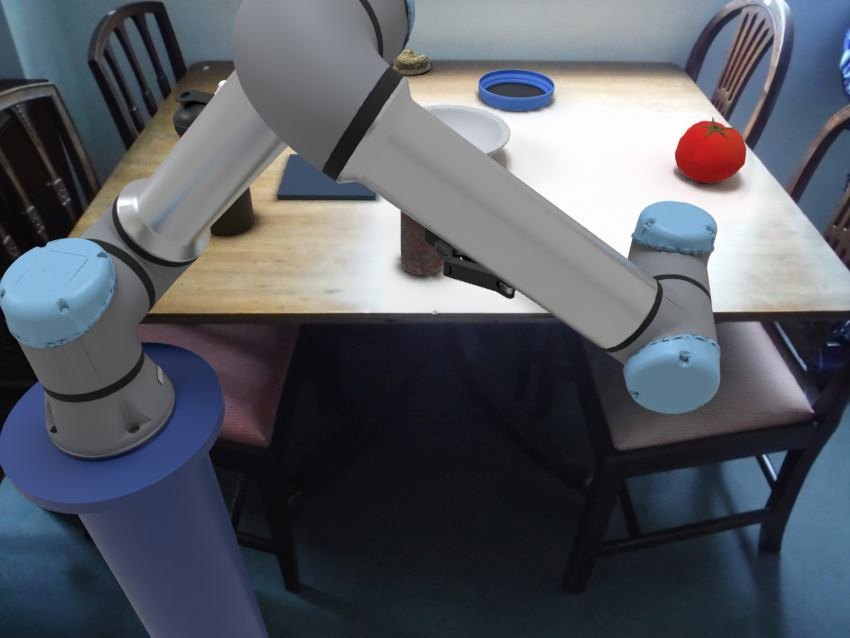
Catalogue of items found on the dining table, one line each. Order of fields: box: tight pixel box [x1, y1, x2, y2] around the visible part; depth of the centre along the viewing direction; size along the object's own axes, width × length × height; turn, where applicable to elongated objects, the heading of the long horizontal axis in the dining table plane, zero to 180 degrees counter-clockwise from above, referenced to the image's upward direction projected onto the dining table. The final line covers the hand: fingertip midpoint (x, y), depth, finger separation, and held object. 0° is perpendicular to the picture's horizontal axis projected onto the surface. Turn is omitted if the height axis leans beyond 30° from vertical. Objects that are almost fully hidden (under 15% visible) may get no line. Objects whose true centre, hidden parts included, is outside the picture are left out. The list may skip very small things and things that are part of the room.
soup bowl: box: [422, 104, 511, 158], centre depth 132 cm, size 24×24×7 cm
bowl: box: [477, 68, 556, 112], centre depth 157 cm, size 18×18×4 cm
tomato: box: [674, 116, 747, 184], centre depth 127 cm, size 13×12×11 cm
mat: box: [276, 153, 377, 201], centre depth 127 cm, size 18×16×1 cm
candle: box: [400, 210, 443, 276], centre depth 100 cm, size 8×7×20 cm
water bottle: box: [172, 88, 256, 237], centre depth 108 cm, size 10×10×23 cm
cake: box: [392, 47, 431, 76], centre depth 170 cm, size 10×10×5 cm
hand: (465, 215), depth 92 cm, fingers open, 13 cm apart
